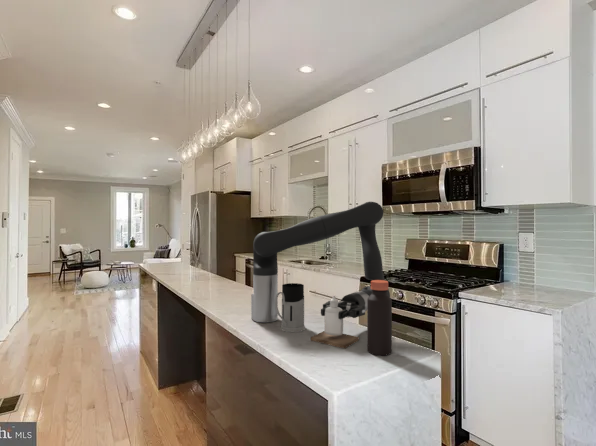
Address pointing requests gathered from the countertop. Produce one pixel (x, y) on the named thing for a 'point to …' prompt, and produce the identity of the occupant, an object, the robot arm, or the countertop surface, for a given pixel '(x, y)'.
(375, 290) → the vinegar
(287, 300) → the glass holder
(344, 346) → the walnut board
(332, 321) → the eye dropper bottle
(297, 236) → the robot arm
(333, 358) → the countertop surface
